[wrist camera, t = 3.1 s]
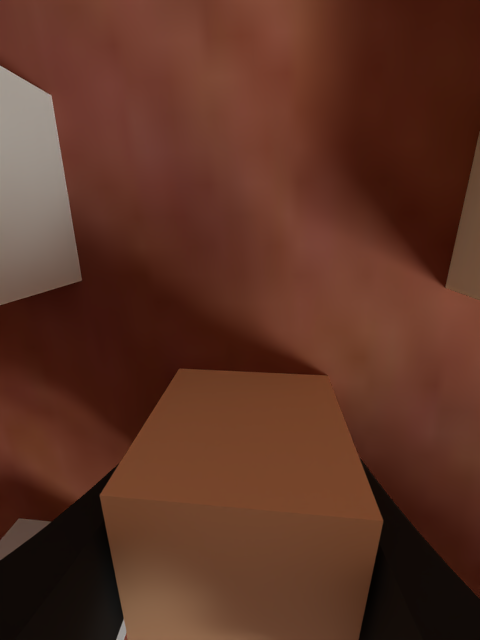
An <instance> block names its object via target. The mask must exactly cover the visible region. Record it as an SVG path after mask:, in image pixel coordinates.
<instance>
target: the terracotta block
mask: <svg viewBox="0 0 480 640" xmlns="http://www.w3.org/2000/svg"><path fill="white" fill-rule="evenodd" d="M100 500H101V505H102V510H103V515H104V520H105V526H106V531H107V536H108V541H109V546H110V551H111V556H112V561H113V566H114V571H115V576H116V581H117V586H118V592H119V597H120V602H121V607H122V612H123V617H124V622H125V627H126V632H127V637H128V640H359V635H360V630H361V626H362V621H363V616H364V611H365V606H366V602H367V597H368V592H369V587H370V583H371V578H372V573H373V568H374V563H375V559H376V554H377V549H378V544H379V539H380V535H381V530H382V525H383V519H382V516H381V513H380V511H379V508H378V506H377V503H376V500H375V498H374V495H373V492H372V490H371V487H370V485H369V482H368V479H367V477H366V474H365V471H364V469H363V466H362V464H361V461H360V458H359V456H358V453H357V451H356V448H355V445H354V443H353V440H352V437H351V435H350V432H349V430H348V427H347V424H346V422H345V419H344V416H343V414H342V411H341V409H340V406H339V403H338V401H337V398H336V395H335V393H334V390H333V388H332V385H331V382H330V380H329V377H328V375H306V374H285V373H264V372H242V371H221V370H200V369H179V370H178V371H177V373H176V374H175V376H174V378H173V379H172V381H171V382H170V384H169V386H168V387H167V389H166V390H165V392H164V394H163V395H162V397H161V398H160V400H159V401H158V403H157V405H156V406H155V408H154V409H153V411H152V413H151V414H150V416H149V417H148V419H147V421H146V422H145V424H144V425H143V427H142V429H141V430H140V432H139V433H138V435H137V436H136V438H135V440H134V441H133V443H132V444H131V446H130V448H129V449H128V451H127V452H126V454H125V456H124V457H123V459H122V460H121V462H120V463H119V465H118V467H117V468H116V470H115V471H114V473H113V475H112V476H111V478H110V479H109V481H108V483H107V484H106V486H105V487H104V489H103V491H102V492H101V494H100Z"/></svg>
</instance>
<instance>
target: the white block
mask: <svg viewBox="0 0 480 640" xmlns="http://www.w3.org/2000/svg"><path fill="white" fill-rule="evenodd" d="M79 281H82V277H81V271H80V265H79V259H78V253H77V247H76V241H75V235H74V229H73V223H72V217H71V211H70V205H69V199H68V193H67V187H66V181H65V175H64V169H63V163H62V157H61V151H60V145H59V139H58V133H57V127H56V121H55V115H54V109H53V103H52V97H51V95H50V94H48V93H46V92H44V91H43V90H41V89H39V88H38V87H36V86H34V85H32V84H31V83H29V82H27V81H26V80H24V79H22V78H20V77H19V76H17V75H15V74H14V73H12V72H10V71H9V70H7V69H5V68H3V67H2V66H0V305H3V304H6V303H9V302H13V301H16V300H19V299H23V298H26V297H29V296H33V295H36V294H39V293H43V292H46V291H49V290H53V289H56V288H59V287H63V286H66V285H69V284H72V283H76V282H79Z"/></svg>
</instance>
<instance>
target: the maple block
mask: <svg viewBox="0 0 480 640" xmlns="http://www.w3.org/2000/svg"><path fill="white" fill-rule="evenodd" d="M445 288H447V289H450V290H453V291H455V292H458V293H461V294H464V295H466V296H469V297H472V298H475V299H478V300H480V132H479V137H478V141H477V146H476V150H475V155H474V159H473V164H472V168H471V173H470V178H469V182H468V187H467V191H466V196H465V200H464V205H463V209H462V214H461V218H460V223H459V227H458V232H457V236H456V241H455V245H454V250H453V255H452V259H451V264H450V268H449V273H448V277H447V282H446V286H445Z"/></svg>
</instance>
